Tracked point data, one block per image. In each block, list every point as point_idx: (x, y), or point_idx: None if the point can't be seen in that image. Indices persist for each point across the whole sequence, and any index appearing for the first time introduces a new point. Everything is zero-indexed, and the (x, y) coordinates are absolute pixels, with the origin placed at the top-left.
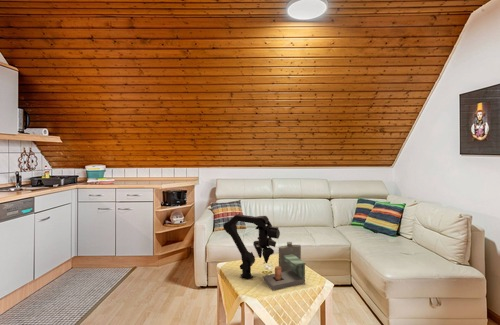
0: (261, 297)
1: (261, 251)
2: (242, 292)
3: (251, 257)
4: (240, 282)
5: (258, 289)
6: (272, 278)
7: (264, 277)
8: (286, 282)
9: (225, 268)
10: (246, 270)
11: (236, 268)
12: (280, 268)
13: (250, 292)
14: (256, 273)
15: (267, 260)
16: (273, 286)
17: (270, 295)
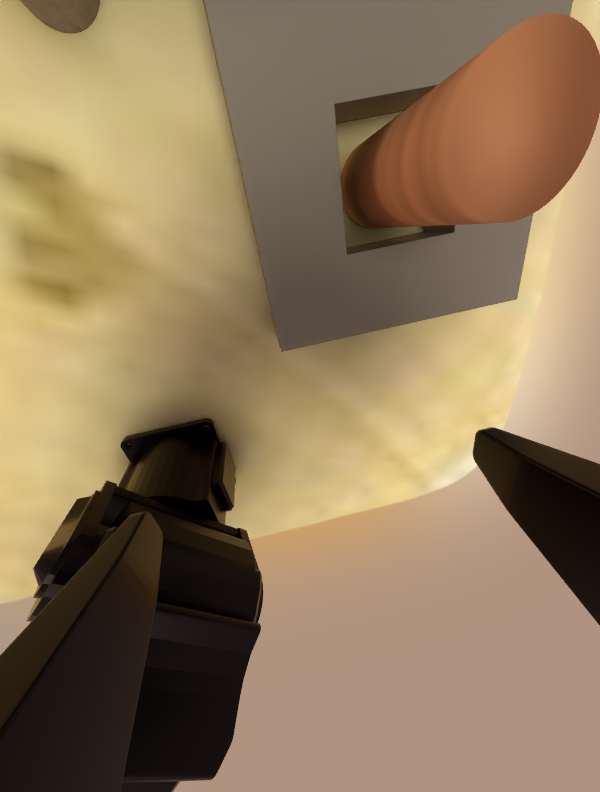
0: (512, 395)
1: (20, 735)
2: (405, 489)
3: (173, 653)
4: (277, 497)
5: (411, 399)
6: (375, 258)
7: (312, 342)
8: None
9: (29, 581)
10: (223, 521)
11: (11, 522)
12: (592, 77)
13: (425, 450)
14: (112, 373)
15: (575, 472)
16: (512, 293)
17: (527, 330)
